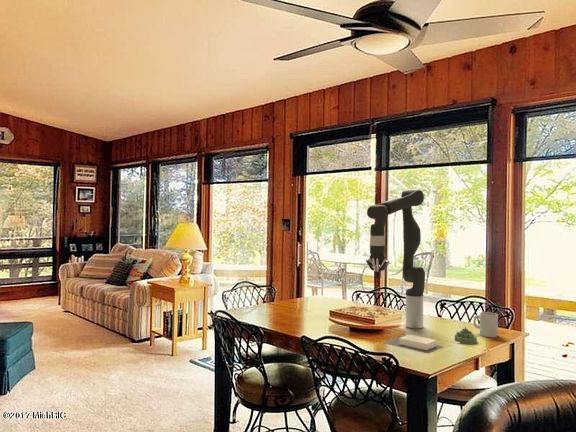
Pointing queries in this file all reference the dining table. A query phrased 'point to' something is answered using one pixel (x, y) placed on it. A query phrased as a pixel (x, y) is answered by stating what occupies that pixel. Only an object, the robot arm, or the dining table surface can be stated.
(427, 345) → the orange white box
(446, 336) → the dining table surface
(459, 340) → the decorative artifact
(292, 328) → the dining table surface
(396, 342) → the mat
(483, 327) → the mug
